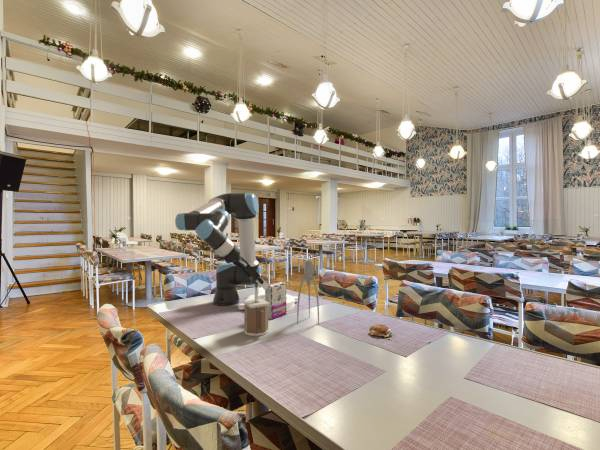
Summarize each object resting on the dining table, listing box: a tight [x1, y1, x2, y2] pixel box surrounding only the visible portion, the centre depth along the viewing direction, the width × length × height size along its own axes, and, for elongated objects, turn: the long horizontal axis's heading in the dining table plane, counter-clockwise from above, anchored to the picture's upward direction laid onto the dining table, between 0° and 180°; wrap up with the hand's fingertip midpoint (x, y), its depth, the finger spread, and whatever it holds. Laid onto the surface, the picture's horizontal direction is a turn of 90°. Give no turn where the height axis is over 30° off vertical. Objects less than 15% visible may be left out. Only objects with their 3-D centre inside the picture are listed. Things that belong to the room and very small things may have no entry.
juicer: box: [296, 258, 320, 324], centre depth 151 cm, size 10×9×30 cm
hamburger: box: [368, 323, 393, 338], centre depth 132 cm, size 14×14×6 cm
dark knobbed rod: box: [251, 273, 263, 303], centre depth 135 cm, size 5×5×18 cm
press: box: [242, 299, 270, 337], centre depth 134 cm, size 13×10×13 cm
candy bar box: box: [264, 281, 287, 320], centre depth 157 cm, size 11×5×16 cm, turn 142°
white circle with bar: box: [237, 292, 298, 312], centre depth 176 cm, size 28×28×5 cm
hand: (264, 286), depth 137 cm, fingers closed on dark knobbed rod, 5 cm apart
